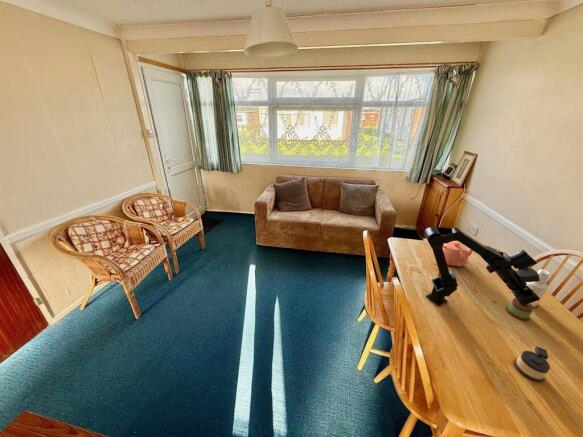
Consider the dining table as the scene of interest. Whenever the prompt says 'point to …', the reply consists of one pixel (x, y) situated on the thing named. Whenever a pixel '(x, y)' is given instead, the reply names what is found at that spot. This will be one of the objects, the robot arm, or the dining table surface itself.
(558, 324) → the dining table surface
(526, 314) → the green cylinder
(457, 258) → the teapot
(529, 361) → the black and cream cylinder
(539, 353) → the plain pump
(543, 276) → the spray bottle
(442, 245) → the robot arm
